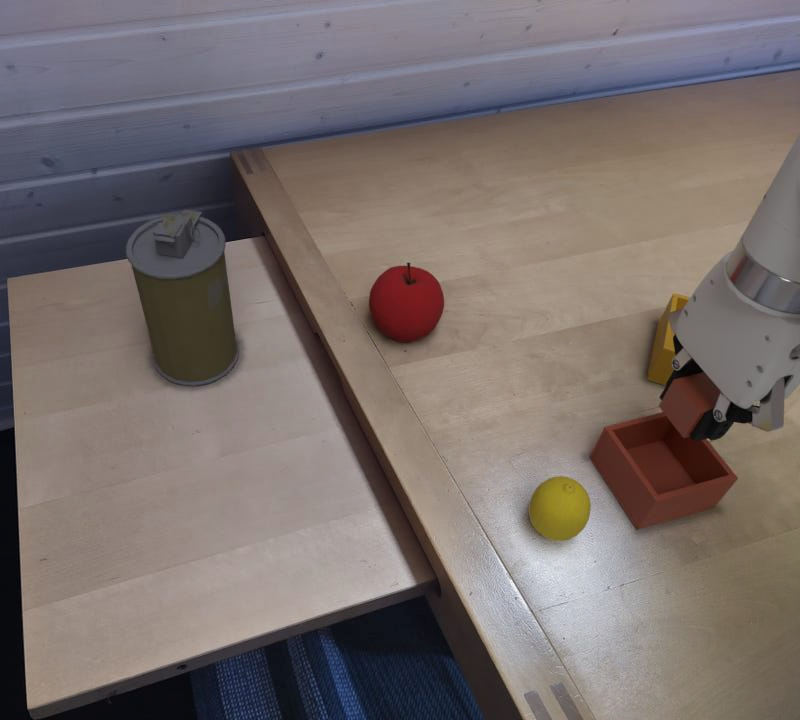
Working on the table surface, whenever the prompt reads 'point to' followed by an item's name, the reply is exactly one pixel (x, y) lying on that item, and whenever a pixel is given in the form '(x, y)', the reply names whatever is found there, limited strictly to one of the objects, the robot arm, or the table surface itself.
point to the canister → (185, 296)
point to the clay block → (689, 401)
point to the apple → (406, 303)
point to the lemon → (559, 508)
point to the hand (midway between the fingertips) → (690, 415)
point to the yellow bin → (665, 343)
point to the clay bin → (659, 470)
